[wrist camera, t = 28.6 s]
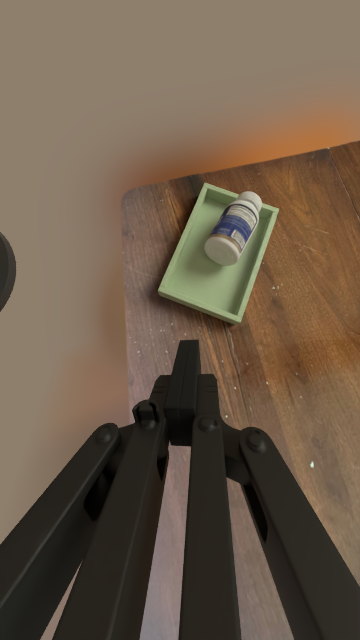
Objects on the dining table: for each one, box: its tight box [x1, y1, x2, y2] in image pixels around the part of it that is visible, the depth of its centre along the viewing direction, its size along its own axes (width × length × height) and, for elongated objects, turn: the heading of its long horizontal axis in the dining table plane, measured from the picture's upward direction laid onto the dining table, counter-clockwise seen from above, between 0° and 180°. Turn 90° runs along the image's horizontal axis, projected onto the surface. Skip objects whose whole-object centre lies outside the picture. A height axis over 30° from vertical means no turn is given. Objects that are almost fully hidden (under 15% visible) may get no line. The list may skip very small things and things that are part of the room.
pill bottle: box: [204, 192, 262, 266], centre depth 26 cm, size 5×5×10 cm
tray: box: [158, 183, 279, 325], centre depth 28 cm, size 20×13×2 cm, turn 158°
